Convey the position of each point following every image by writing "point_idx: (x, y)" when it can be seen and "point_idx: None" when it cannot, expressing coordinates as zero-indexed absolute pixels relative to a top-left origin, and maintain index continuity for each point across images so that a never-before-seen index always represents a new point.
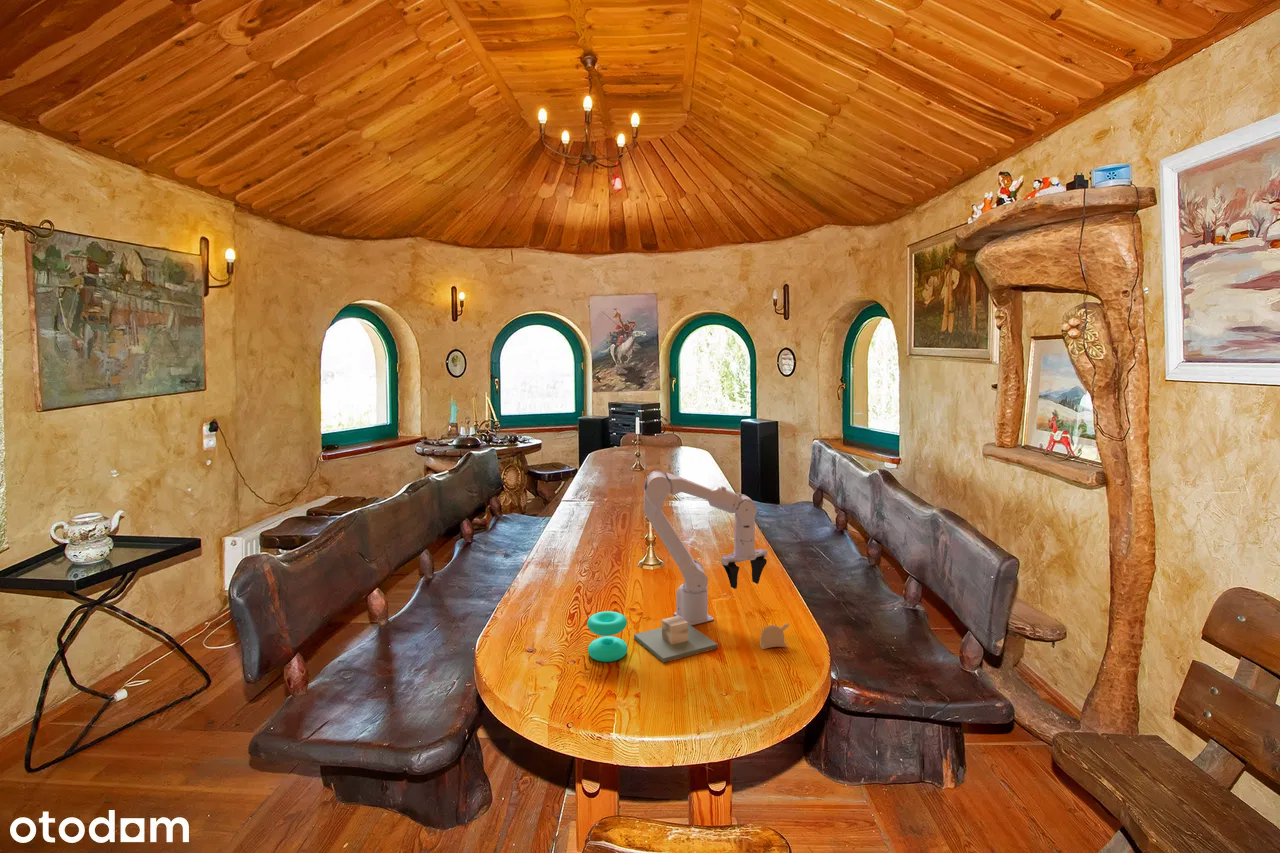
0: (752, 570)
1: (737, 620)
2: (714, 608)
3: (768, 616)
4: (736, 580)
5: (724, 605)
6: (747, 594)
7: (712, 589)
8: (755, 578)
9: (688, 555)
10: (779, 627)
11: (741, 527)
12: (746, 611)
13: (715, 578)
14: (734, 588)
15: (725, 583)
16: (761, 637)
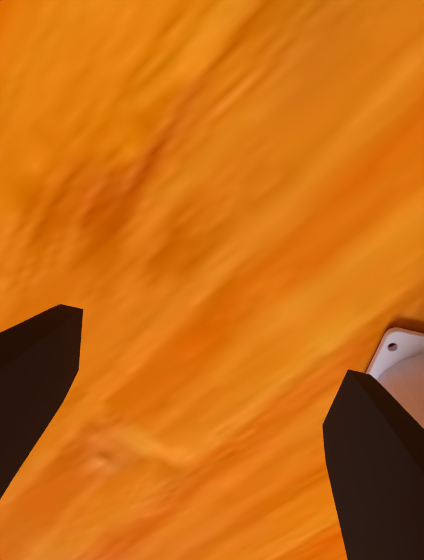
0: (5, 478)
1: (297, 242)
2: (258, 407)
3: (113, 152)
4: (406, 435)
5: (194, 398)
6: None
7: (107, 514)
8: (56, 362)
9: None
10: None
11: None
12: (163, 286)
13: (23, 557)
14: (371, 379)
15: (20, 515)
16: None
